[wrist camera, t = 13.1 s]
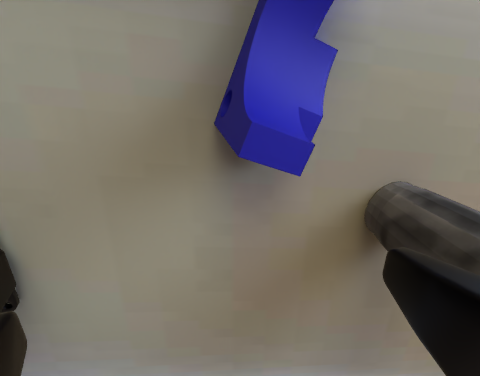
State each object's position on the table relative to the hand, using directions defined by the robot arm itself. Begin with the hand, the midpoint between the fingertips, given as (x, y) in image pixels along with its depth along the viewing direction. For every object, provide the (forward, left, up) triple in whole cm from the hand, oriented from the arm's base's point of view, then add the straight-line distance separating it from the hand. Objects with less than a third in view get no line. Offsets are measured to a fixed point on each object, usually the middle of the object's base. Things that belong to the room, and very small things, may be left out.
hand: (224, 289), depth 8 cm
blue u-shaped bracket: (+6, +6, -12) cm, 15 cm away
